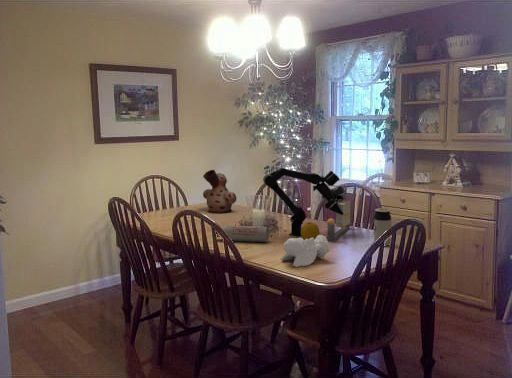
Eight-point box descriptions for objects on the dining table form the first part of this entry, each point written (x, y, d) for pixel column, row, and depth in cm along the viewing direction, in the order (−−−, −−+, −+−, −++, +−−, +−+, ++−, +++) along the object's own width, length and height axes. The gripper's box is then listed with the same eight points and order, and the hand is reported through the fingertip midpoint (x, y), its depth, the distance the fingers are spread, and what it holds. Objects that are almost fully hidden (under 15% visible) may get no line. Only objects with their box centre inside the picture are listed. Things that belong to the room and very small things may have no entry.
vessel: (243, 210, 341) (242, 168, 337) (225, 216, 323) (223, 171, 318) (210, 207, 356) (209, 166, 352) (191, 212, 338) (189, 170, 334)
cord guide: (333, 242, 251) (333, 219, 250) (326, 241, 253) (326, 218, 251) (350, 228, 282) (351, 207, 280) (344, 227, 283) (344, 207, 282)
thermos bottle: (266, 225, 252) (215, 223, 259) (264, 240, 249) (213, 237, 256) (269, 229, 259) (219, 227, 266) (268, 243, 256) (217, 241, 263)
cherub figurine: (332, 239, 216) (294, 240, 207) (330, 266, 218) (291, 268, 209) (316, 232, 228) (279, 233, 219) (313, 258, 229) (276, 260, 220)
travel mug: (390, 243, 247) (391, 208, 245) (390, 247, 240) (391, 211, 237) (374, 242, 249) (374, 207, 247) (373, 246, 242) (374, 210, 239)
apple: (297, 243, 251) (297, 220, 250) (314, 240, 255) (314, 219, 253) (305, 247, 242) (305, 224, 241) (323, 245, 246) (323, 222, 244)
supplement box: (342, 223, 271) (342, 200, 268) (350, 224, 268) (350, 201, 265) (335, 226, 264) (335, 203, 262) (343, 227, 261) (343, 204, 259)
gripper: (330, 184, 256) (351, 206, 252) (340, 179, 272) (360, 200, 269) (316, 198, 260) (336, 219, 257) (327, 193, 277) (345, 213, 274)
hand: (345, 212), depth 264 cm, fingers closed on supplement box, 8 cm apart
